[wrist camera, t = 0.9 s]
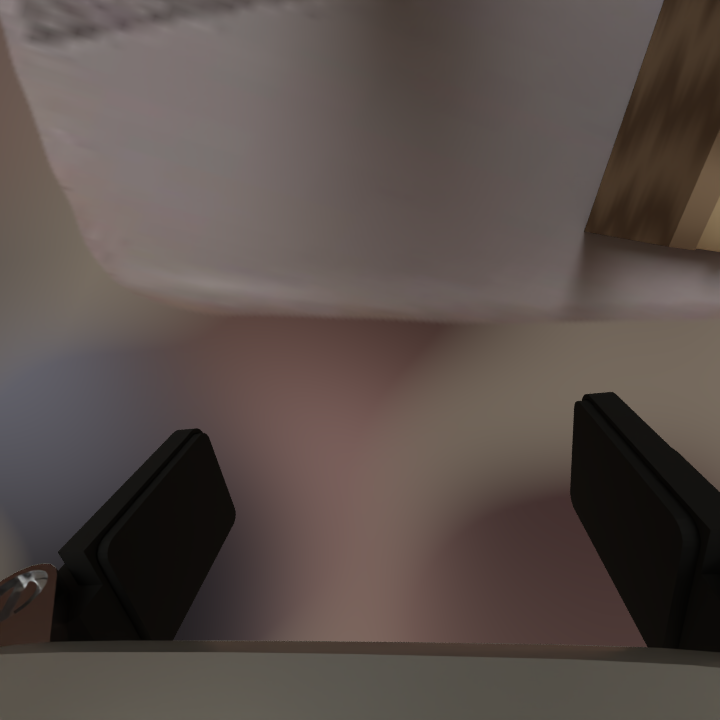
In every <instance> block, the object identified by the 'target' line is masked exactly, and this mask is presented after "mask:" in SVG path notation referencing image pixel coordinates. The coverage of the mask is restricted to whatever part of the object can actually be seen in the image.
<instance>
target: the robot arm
mask: <svg viewBox="0 0 720 720" xmlns="http://www.w3.org/2000/svg"><path fill="white" fill-rule="evenodd" d="M573 424H574V425H573V445H572V465H571V487H570V495H571V500H572V504H573V507H574V509H575V511H576V513H577V515H578V516H579V519H580V521H581V522H582V524H583V526H584V528H585V530H586V532H587V533H588V536H589V537H590V539H591V541H592V543H593V545H594V547H595V548H596V551H597V553H598V554H599V556H600V558H601V560H602V562H603V564H604V566H605V568H606V569H607V571H608V573H609V575H610V577H611V579H612V581H613V583H614V584H615V586H616V588H617V590H618V592H619V594H620V596H621V598H622V599H623V601H624V603H625V605H626V607H627V609H628V611H629V613H630V615H631V617H632V618H633V620H634V622H635V624H636V626H637V628H638V630H639V632H640V633H641V635H642V637H643V639H644V641H645V643H646V644H647V647H617V646H615V647H614V646H586V645H554V644H488V643H486V644H485V643H422V642H421V643H419V642H331V641H330V642H329V641H328V642H327V641H173V639H174V637H175V635H176V633H177V631H178V629H179V627H180V626H181V624H182V622H183V620H184V618H185V616H186V614H187V612H188V610H189V608H190V606H191V605H192V603H193V601H194V599H195V597H196V595H197V593H198V591H199V589H200V587H201V585H202V583H203V581H204V580H205V578H206V576H207V574H208V572H209V570H210V568H211V566H212V564H213V562H214V560H215V558H216V557H217V555H218V553H219V551H220V549H221V547H222V545H223V543H224V541H225V539H226V537H227V536H228V534H229V532H230V530H231V527H232V526H233V524H234V521H235V515H236V514H235V508H234V505H233V502H232V499H231V497H230V494H229V491H228V489H227V486H226V483H225V480H224V478H223V475H222V472H221V469H220V467H219V464H218V461H217V458H216V456H215V453H214V450H213V447H212V445H211V442H210V439H209V437H208V436H207V434H205V433H203V432H202V431H201V430H200V429H185V430H177V431H175V432H174V433H173V434H172V435H171V436H170V437H169V438H168V439H167V440H166V441H165V442H164V443H163V444H162V445H161V446H160V447H159V448H158V449H157V451H155V452H154V453H153V454H152V456H150V457H149V459H148V460H147V461H146V462H145V463H144V464H143V465H142V466H141V467H140V468H139V469H138V470H137V471H136V472H135V473H134V474H133V475H132V476H131V477H130V478H129V479H128V480H127V481H126V482H125V483H124V484H123V485H122V486H121V487H120V489H119V490H117V492H116V493H115V494H114V495H113V496H112V497H111V498H110V499H109V500H108V501H107V502H106V503H105V504H104V505H103V506H102V507H101V508H100V509H99V510H98V511H97V512H96V513H95V514H94V516H92V517H91V518H90V520H89V521H88V522H87V523H85V525H84V526H83V527H82V528H81V529H80V530H79V531H78V532H77V533H76V534H75V535H74V536H73V537H72V538H71V539H70V540H69V541H68V542H67V543H66V544H65V545H64V546H63V547H62V548H61V549H60V550H59V551H58V553H59V555H60V556H61V558H62V560H63V561H64V563H65V564H64V565H63V566H62V567H61V568H60V570H59V571H58V570H57V569H56V567H54V566H53V565H51V564H38V565H33V566H30V567H27V568H25V569H22V570H20V571H18V572H16V573H14V574H12V575H10V576H9V577H7V578H5V579H3V580H2V581H1V582H0V720H720V492H719V491H718V490H717V489H716V488H715V487H714V486H713V485H712V484H710V483H709V482H708V481H707V480H706V479H705V478H704V477H703V476H702V475H701V474H700V473H699V472H698V471H697V470H696V469H695V468H694V467H693V466H692V465H691V464H690V463H689V462H687V461H686V460H685V459H684V458H683V457H682V456H681V455H680V454H679V453H678V452H677V451H675V450H674V449H673V448H671V447H670V446H669V445H668V444H667V443H666V442H665V441H664V440H663V439H662V438H661V437H660V436H659V435H658V434H657V433H655V431H654V430H653V429H651V428H650V427H649V426H648V425H647V424H646V423H645V422H644V421H643V420H642V419H641V418H640V417H639V416H638V415H637V414H636V413H635V412H634V411H633V410H632V409H631V408H630V407H628V405H627V404H625V403H624V402H623V401H622V400H621V399H620V398H619V397H618V396H617V395H616V394H615V393H613V392H607V393H595V394H585V395H584V396H583V398H582V401H577V402H575V406H574V423H573Z"/></svg>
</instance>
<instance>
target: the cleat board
mask: <svg viewBox="0 0 720 720" xmlns="http://www.w3.org/2000/svg"><path fill="white" fill-rule="evenodd" d="M585 232H591V233H596V234H602V235H607V236H613V237H618V238H624V239H629V240H635V241H640V242H646V243H651V244H657V245H662V246H668V247H674V248H681V249H688V250H694V251H695V249H703V250H710V251H716V252H720V0H664V3H663V5H662V8H661V11H660V14H659V17H658V20H657V23H656V26H655V29H654V31H653V34H652V37H651V40H650V43H649V46H648V49H647V52H646V55H645V57H644V60H643V63H642V66H641V69H640V72H639V75H638V78H637V81H636V83H635V86H634V89H633V92H632V95H631V98H630V101H629V104H628V107H627V109H626V112H625V115H624V118H623V121H622V124H621V127H620V130H619V133H618V135H617V138H616V141H615V144H614V147H613V150H612V153H611V156H610V159H609V161H608V164H607V167H606V170H605V173H604V176H603V179H602V182H601V184H600V187H599V190H598V193H597V196H596V199H595V202H594V205H593V208H592V210H591V213H590V216H589V219H588V222H587V225H586V228H585Z"/></svg>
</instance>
